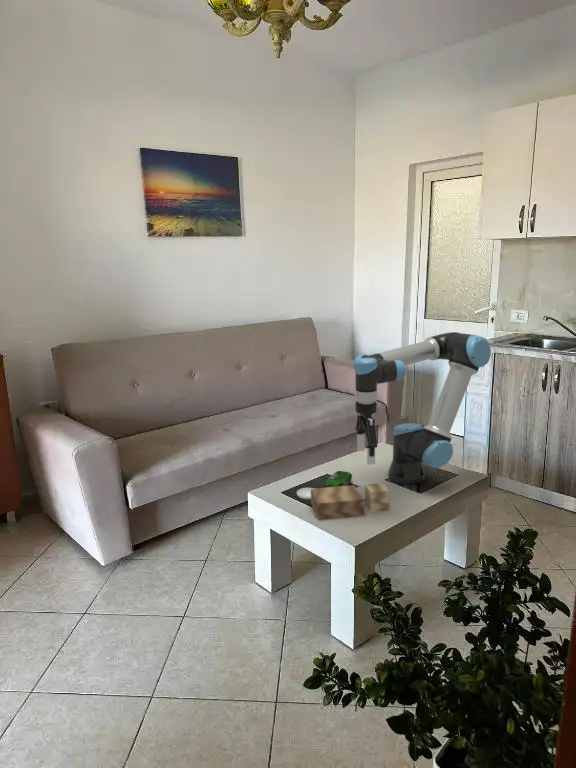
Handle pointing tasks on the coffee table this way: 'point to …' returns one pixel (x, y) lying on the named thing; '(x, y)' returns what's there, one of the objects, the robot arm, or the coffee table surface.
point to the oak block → (377, 497)
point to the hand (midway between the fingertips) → (365, 457)
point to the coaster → (304, 493)
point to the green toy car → (339, 479)
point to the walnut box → (337, 502)
